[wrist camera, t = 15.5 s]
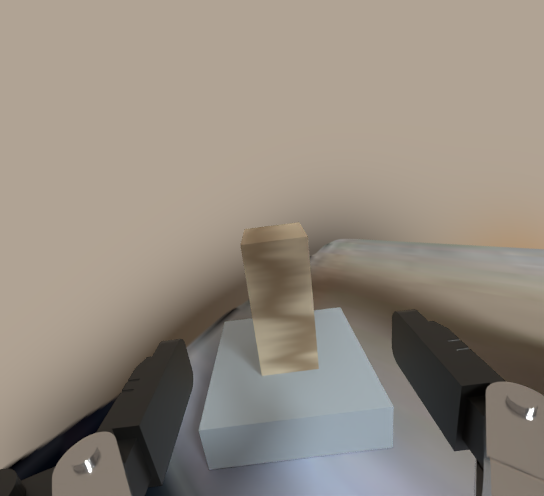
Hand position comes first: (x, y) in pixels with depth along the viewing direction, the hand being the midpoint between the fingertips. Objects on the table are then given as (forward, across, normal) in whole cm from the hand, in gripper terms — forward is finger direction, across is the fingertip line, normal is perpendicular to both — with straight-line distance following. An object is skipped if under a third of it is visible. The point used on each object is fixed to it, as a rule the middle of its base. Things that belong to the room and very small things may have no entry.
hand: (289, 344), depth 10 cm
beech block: (+13, 0, +11) cm, 17 cm away
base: (+13, 0, +15) cm, 20 cm away
